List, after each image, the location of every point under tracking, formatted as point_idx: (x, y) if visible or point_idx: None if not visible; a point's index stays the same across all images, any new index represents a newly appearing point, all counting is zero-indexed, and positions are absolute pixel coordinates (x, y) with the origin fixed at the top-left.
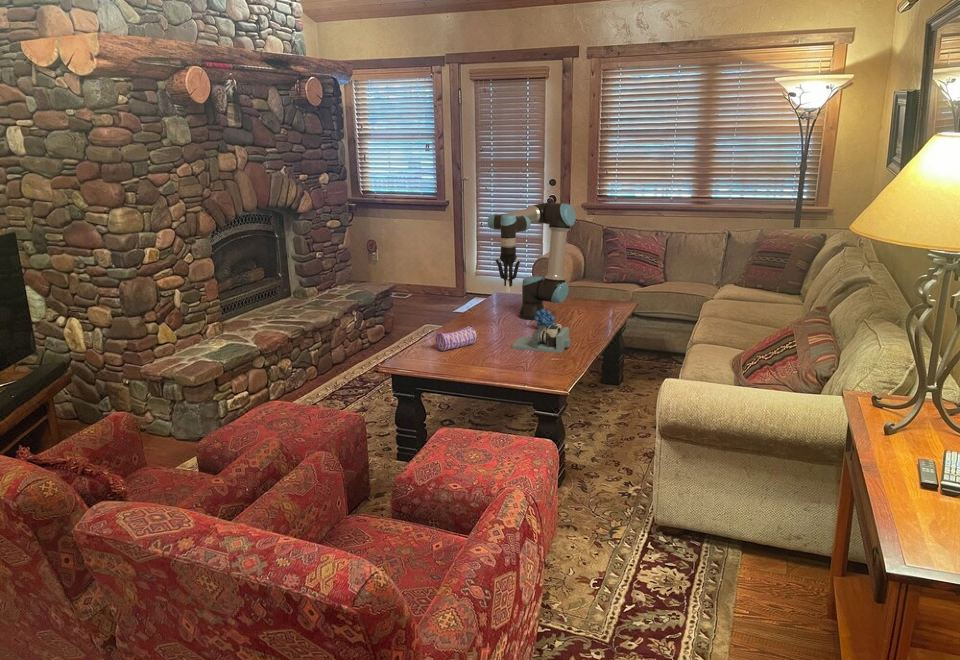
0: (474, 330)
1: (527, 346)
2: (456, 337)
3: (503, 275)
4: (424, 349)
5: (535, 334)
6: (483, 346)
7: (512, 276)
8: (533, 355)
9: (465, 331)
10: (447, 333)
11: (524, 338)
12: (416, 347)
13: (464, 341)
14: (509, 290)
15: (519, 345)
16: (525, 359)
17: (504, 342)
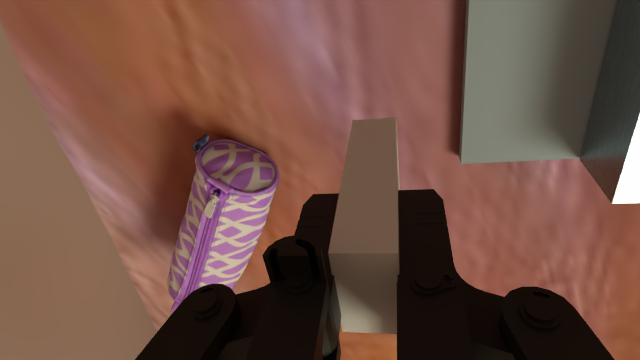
0: (255, 197)
1: (549, 152)
2: (235, 266)
3: (217, 348)
4: (158, 259)
5: (632, 201)
6: (324, 171)
7: (467, 335)
8: (587, 208)
9: (229, 224)
10: (193, 278)
11: (503, 22)
12: (121, 250)
13: (260, 233)
14: (398, 179)
15: (502, 151)
16: (556, 255)
17: (391, 83)
